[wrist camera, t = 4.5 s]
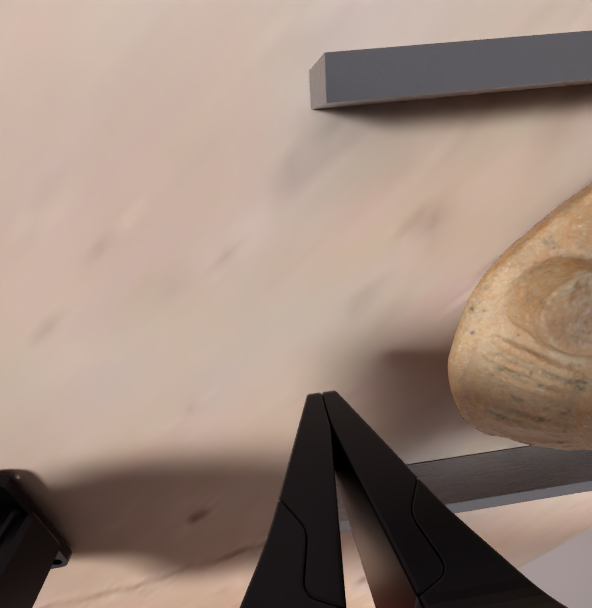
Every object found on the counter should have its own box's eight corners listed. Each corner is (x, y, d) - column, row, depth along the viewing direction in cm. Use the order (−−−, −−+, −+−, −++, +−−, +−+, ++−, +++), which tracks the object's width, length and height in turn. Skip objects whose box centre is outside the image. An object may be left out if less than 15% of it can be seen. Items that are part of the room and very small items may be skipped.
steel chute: (330, 487, 16) (344, 554, 13) (308, 67, 8) (333, 38, 5) (619, 442, 17) (682, 496, 14) (869, 20, 9) (1117, -25, 6)
